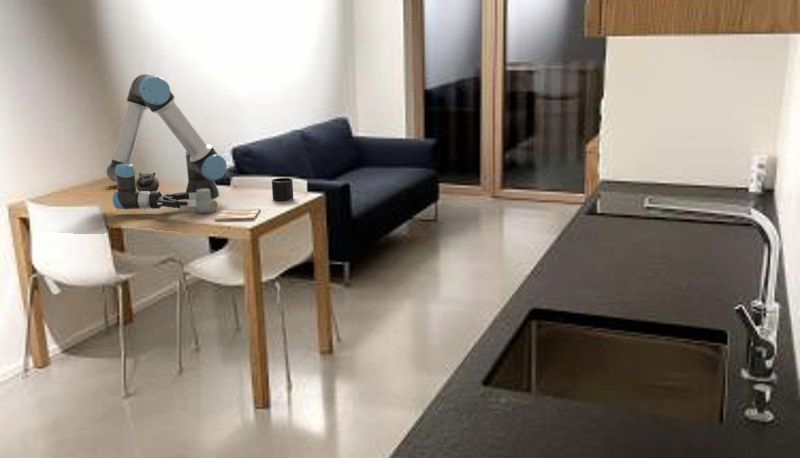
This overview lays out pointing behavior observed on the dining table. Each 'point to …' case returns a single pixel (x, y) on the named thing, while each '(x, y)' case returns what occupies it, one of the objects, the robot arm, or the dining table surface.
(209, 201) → the air freshener
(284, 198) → the mug
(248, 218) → the coaster board
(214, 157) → the robot arm
